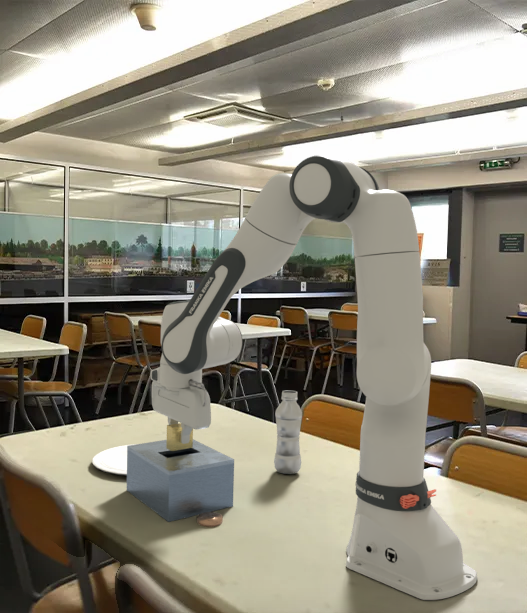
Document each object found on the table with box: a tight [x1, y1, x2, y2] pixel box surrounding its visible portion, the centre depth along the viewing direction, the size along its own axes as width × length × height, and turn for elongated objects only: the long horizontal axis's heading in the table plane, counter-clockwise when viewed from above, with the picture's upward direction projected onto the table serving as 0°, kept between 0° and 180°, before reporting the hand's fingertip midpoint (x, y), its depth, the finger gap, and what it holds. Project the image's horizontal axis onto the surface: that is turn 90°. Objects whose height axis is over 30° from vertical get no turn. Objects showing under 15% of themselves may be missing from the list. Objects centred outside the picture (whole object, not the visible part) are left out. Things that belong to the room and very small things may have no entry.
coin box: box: [126, 438, 235, 523], centre depth 133 cm, size 20×15×10 cm
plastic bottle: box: [273, 390, 303, 475], centre depth 151 cm, size 6×7×20 cm
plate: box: [91, 443, 137, 477], centre depth 155 cm, size 25×25×2 cm
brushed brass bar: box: [166, 422, 194, 451], centre depth 132 cm, size 2×5×5 cm, turn 126°
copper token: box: [196, 511, 224, 528], centre depth 122 cm, size 5×5×1 cm
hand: (179, 440), depth 132 cm, fingers closed on brushed brass bar, 2 cm apart
